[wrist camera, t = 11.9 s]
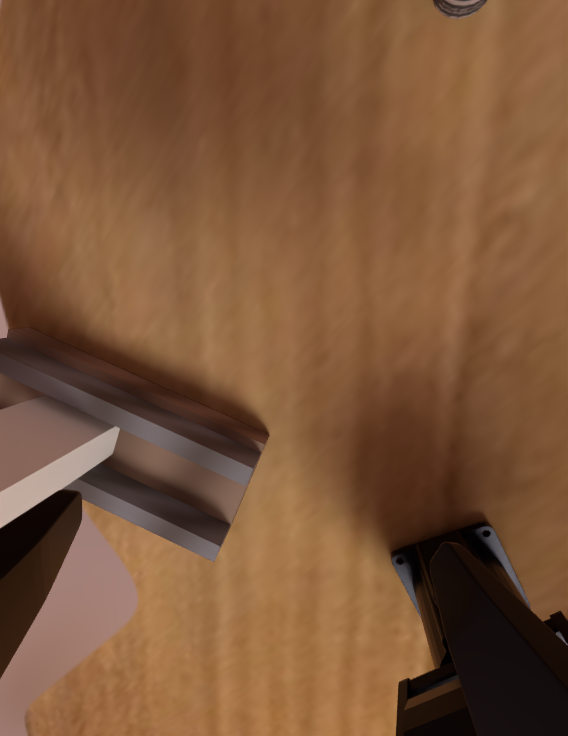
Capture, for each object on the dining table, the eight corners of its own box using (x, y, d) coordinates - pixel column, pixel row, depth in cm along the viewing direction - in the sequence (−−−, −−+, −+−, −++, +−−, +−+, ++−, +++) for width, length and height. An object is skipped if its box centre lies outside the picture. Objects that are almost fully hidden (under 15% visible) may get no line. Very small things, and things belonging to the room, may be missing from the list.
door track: (269, 435, 22) (257, 459, 18) (228, 530, 24) (210, 569, 20) (29, 327, 23) (-24, 332, 20) (8, 427, 25) (-43, 447, 21)
